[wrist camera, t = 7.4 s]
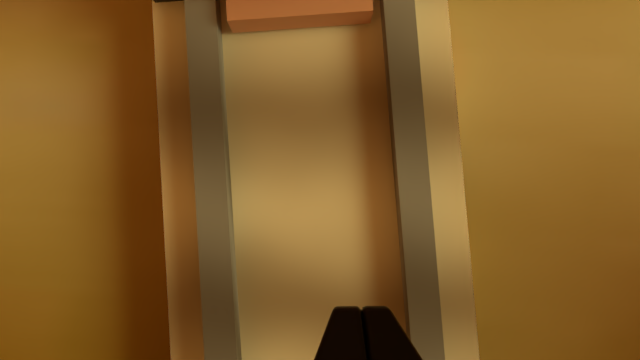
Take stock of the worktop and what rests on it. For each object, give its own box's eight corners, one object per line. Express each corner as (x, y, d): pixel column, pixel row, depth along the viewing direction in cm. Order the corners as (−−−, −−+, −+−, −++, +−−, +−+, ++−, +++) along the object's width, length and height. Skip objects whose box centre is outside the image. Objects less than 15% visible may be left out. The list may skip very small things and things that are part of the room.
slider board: (467, 375, 21) (491, 399, 18) (187, 395, 21) (165, 423, 18) (424, -110, 23) (440, -161, 20) (160, -92, 23) (136, -139, 20)
